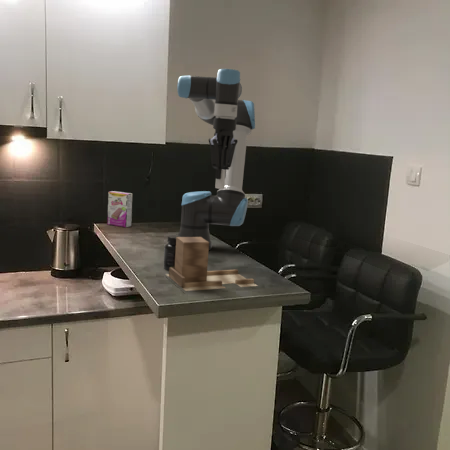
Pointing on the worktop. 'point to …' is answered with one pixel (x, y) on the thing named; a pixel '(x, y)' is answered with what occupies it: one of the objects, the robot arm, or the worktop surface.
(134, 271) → the worktop surface
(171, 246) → the supplement bottle
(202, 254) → the walnut block
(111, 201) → the candy bar box
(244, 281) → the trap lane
